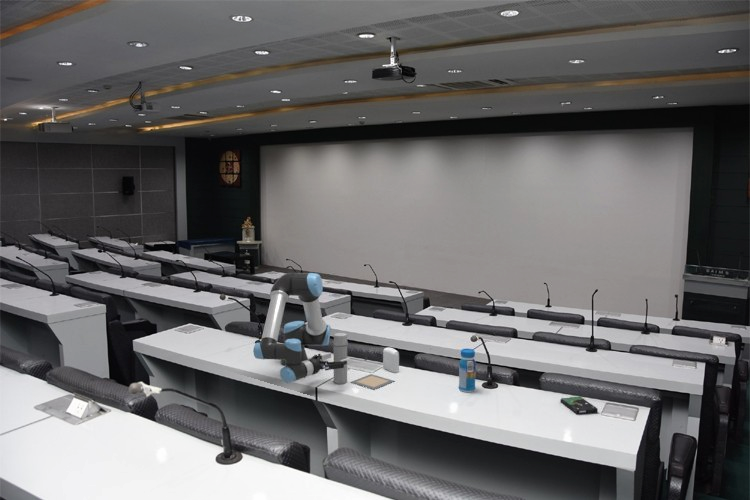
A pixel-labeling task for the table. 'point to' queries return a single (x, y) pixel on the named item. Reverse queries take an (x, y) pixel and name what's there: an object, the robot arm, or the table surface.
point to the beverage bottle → (467, 370)
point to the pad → (372, 381)
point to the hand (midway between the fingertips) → (340, 357)
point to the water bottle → (340, 357)
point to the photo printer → (391, 359)
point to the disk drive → (579, 405)
